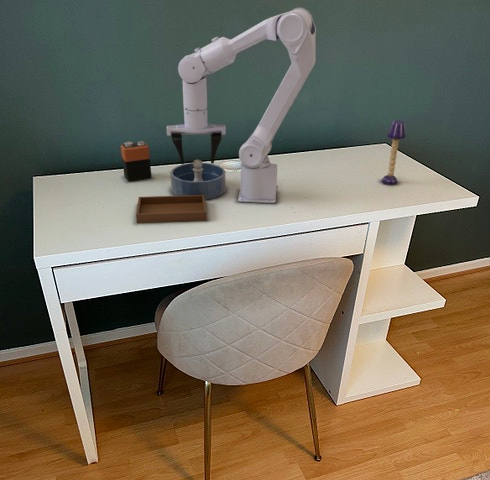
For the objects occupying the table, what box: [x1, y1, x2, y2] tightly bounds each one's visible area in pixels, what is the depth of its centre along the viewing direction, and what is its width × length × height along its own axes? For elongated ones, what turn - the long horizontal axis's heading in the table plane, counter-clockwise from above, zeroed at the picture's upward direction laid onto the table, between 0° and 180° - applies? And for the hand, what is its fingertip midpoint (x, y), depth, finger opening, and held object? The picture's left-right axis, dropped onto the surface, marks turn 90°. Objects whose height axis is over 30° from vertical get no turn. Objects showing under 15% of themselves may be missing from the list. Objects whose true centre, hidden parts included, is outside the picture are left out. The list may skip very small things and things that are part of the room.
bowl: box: [169, 162, 227, 200], centre depth 132 cm, size 14×14×5 cm
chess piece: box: [192, 159, 204, 182], centre depth 131 cm, size 5×5×8 cm
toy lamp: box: [381, 119, 406, 186], centre depth 136 cm, size 5×5×17 cm
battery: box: [120, 140, 152, 182], centre depth 137 cm, size 4×7×10 cm, turn 115°
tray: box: [135, 195, 208, 224], centre depth 121 cm, size 16×10×2 cm, turn 97°
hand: (197, 162), depth 129 cm, fingers open, 7 cm apart
